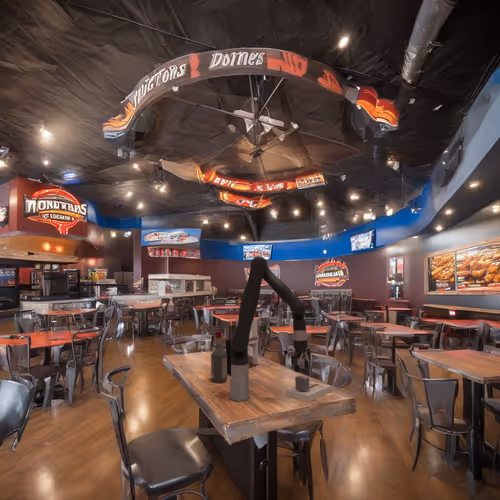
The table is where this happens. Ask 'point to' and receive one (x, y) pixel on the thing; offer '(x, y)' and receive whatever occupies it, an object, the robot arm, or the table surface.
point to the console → (309, 392)
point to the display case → (252, 345)
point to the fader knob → (302, 383)
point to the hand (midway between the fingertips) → (302, 370)
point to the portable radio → (228, 355)
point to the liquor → (218, 362)
